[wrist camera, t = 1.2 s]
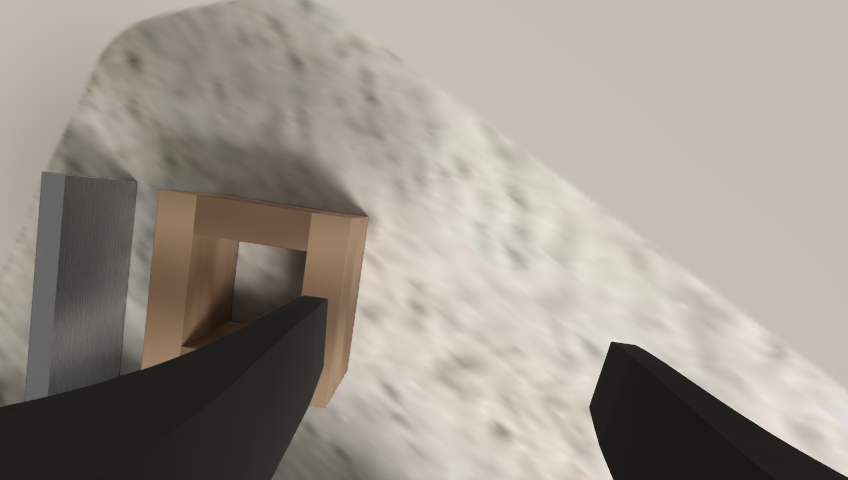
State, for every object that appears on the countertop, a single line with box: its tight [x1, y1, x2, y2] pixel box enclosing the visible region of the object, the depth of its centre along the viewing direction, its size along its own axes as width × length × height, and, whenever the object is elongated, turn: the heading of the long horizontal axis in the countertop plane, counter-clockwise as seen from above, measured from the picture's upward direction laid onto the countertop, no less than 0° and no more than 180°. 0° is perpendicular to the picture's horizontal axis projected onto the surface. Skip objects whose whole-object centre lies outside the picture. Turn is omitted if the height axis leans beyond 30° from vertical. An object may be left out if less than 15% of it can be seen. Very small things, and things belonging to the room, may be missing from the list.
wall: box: [25, 172, 137, 402], centre depth 19 cm, size 12×1×4 cm, turn 171°
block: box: [141, 189, 369, 408], centre depth 19 cm, size 8×8×4 cm
